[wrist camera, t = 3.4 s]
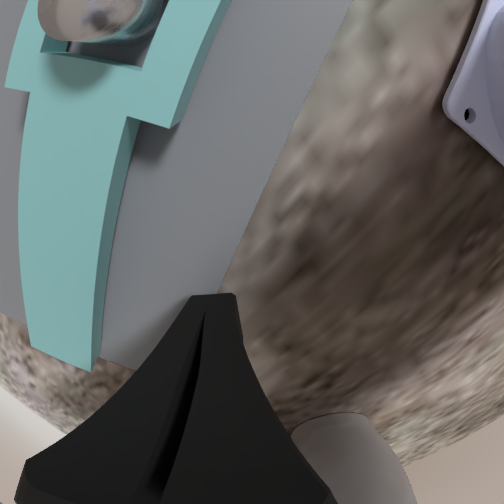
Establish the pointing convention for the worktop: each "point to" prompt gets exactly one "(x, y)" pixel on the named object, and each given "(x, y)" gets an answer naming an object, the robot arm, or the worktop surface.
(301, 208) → the worktop surface
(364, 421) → the mug
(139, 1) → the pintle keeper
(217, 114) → the board
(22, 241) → the link
